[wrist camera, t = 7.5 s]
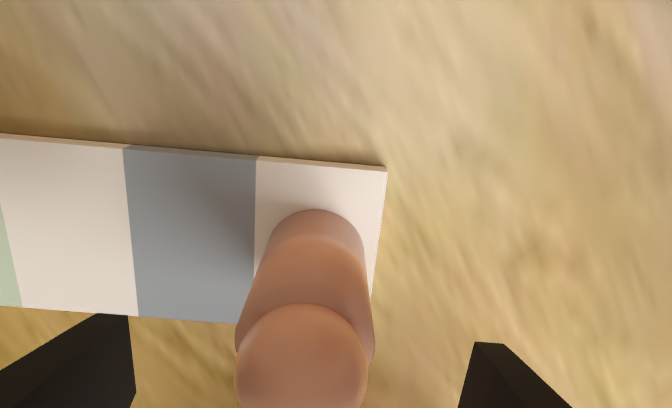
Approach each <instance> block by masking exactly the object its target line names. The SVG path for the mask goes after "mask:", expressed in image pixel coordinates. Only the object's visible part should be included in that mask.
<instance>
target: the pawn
mask: <svg viewBox="0 0 672 408" xmlns="http://www.w3.org/2000/svg"><path fill="white" fill-rule="evenodd" d="M235 348H236V352H237V356H236V360H235V364H234V375H233V381H234V390H235V395H236V399H237V402H238V405H239V407H240V408H360V407H361V405H362V402H363V400H364V397H365V394H366V389H367V384H368V367H369V365H370V363H371V360H372V358H373V354H374V348H375V339H374V330H373V321H372V313H371V305H370V296H369V288H368V279H367V271H366V263H365V254H364V246H363V242H362V240H361V237H360V235H359V233H358V232H357V230H356V229H355V228H354V226H353V225H352V224H351V223H350V222H349V221H347V220H346V219H345V218H343V217H341V216H340V215H338V214H335V213H333V212H330V211H326V210H320V209H309V210H303V211H299V212H296V213H293V214H291V215H289V216H287V217H286V218H284V219H283V220H282V221H281V222H280V223H278V225H277V226H276V227H275V228H274V230H273V231H272V233H271V235H270V237H269V240H268V242H267V245H266V248H265V250H264V253H263V256H262V259H261V261H260V264H259V267H258V269H257V272H256V275H255V278H254V280H253V283H252V286H251V288H250V291H249V294H248V297H247V299H246V302H245V305H244V307H243V310H242V313H241V316H240V318H239V321H238V324H237V327H236V331H235Z"/></svg>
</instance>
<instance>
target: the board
mask: <svg viewBox="0 0 672 408" xmlns="http://www.w3.org/2000/svg"><path fill="white" fill-rule="evenodd" d="M387 176H388V171H387V168H386V167H383V166H372V165H360V164H349V163H337V162H326V161H314V160H303V159H292V158H280V157H269V156H257V155H246V154H234V153H223V152H211V151H200V150H189V149H177V148H166V147H154V146H143V145H131V144H120V143H108V142H97V141H85V140H74V139H63V138H51V137H40V136H28V135H17V134H5V133H0V306H11V307H24V308H37V309H50V310H62V311H75V312H88V313H106V314H119V315H128V316H140V317H152V318H165V319H178V320H191V321H204V322H217V323H229V324H238V321H239V318H240V316H241V313H242V310H243V307H244V305H245V302H246V299H247V297H248V294H249V291H250V288H251V286H252V283H253V280H254V278H255V275H256V272H257V269H258V267H259V264H260V261H261V259H262V256H263V253H264V250H265V248H266V245H267V242H268V240H269V237H270V235H271V233H272V231H273V230H274V228H275V227H276V226H277V225H278V223H280V222H281V221H282V220H283V219H284V218H286V217H287V216H289V215H291V214H293V213H296V212H299V211H303V210H309V209H320V210H326V211H330V212H333V213H335V214H338V215H340V216H341V217H343V218H345V219H346V220H347V221H349V222H350V223H351V224H352V225H353V226H354V228H355V229H356V230H357V232H358V233H359V235H360V237H361V240H362V242H363V246H364V254H365V263H366V271H367V279H368V288H369V296H370V299H371V292H372V285H373V278H374V270H375V263H376V256H377V249H378V241H379V234H380V227H381V220H382V212H383V205H384V198H385V191H386V183H387Z"/></svg>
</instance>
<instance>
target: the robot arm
mask: <svg viewBox="0 0 672 408" xmlns="http://www.w3.org/2000/svg"><path fill="white" fill-rule="evenodd" d="M135 394H136V385H135V376H134V367H133V359H132V350H131V341H130V332H129V323H128V315H119V314H106V313H97V314H95V315H93V316H91V317H89V318H87V319H86V320H84V321H82V322H80V323H79V324H77V325H75V326H73V327H72V328H70V329H68V330H67V331H65V332H63V333H62V334H60V335H58V336H57V337H55V338H54V339H52V340H50V341H49V342H47V343H45V344H44V345H42V346H40V347H39V348H37V349H35V350H34V351H32V352H30V353H29V354H27V355H25V356H24V357H22V358H20V359H19V360H17V361H15V362H14V363H12V364H10V365H9V366H7V367H5V368H4V369H2V370H0V408H130V406H131V403H132V401H133V399H134V396H135ZM458 408H572V407H571V406H570V405H569V404H568V403H567V402H566V401H564V400H563V399H562V398H561V397H560V396H559V395H558V394H557V393H556V392H555V391H554V390H553V389H552V388H551V387H550V386H549V385H548V384H546V383H545V382H544V381H543V380H542V379H541V378H540V377H539V376H538V375H537V374H536V373H535V372H534V371H533V370H532V369H531V368H530V367H528V366H527V365H526V364H525V363H524V362H523V361H522V360H521V359H520V358H519V357H518V356H517V355H516V354H515V353H513V352H512V351H511V350H510V349H509V348H508V347H507V346H505V345H504V344H499V343H486V342H475V343H474V346H473V350H472V354H471V358H470V362H469V366H468V370H467V374H466V378H465V381H464V385H463V389H462V393H461V397H460V401H459V405H458Z"/></svg>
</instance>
